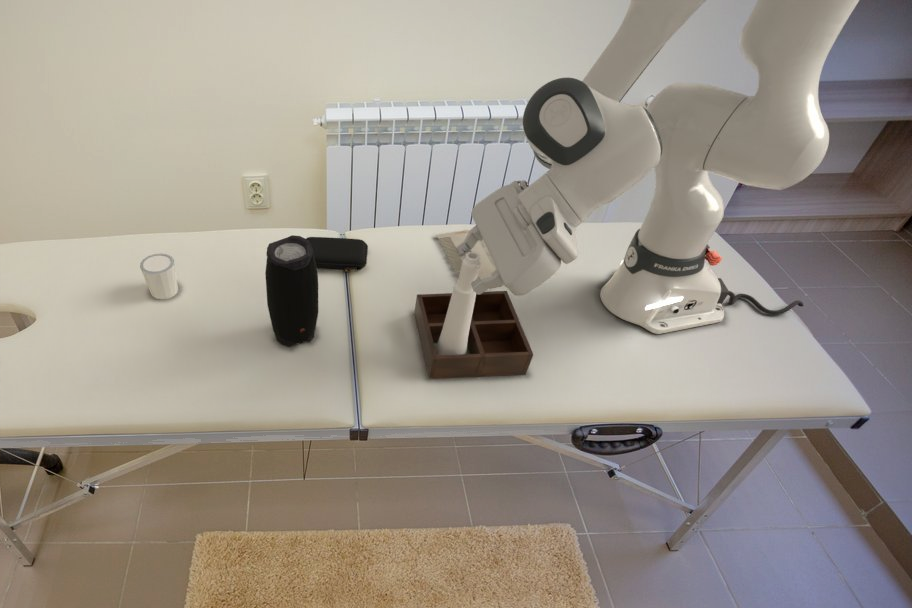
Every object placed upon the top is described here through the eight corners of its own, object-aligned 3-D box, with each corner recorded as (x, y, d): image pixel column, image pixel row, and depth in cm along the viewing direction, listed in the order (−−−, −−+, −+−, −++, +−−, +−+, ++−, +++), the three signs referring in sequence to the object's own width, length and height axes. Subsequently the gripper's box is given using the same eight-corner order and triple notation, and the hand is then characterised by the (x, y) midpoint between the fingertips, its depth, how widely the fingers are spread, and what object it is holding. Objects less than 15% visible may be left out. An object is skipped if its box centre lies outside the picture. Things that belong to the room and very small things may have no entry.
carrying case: (296, 273, 122) (365, 277, 121) (296, 262, 120) (366, 265, 118) (302, 245, 129) (367, 248, 128) (302, 233, 127) (368, 236, 125)
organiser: (500, 310, 113) (506, 290, 109) (525, 374, 102) (533, 354, 98) (413, 314, 113) (416, 294, 109) (429, 379, 102) (433, 359, 98)
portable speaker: (318, 349, 107) (317, 263, 92) (269, 349, 107) (259, 263, 92) (318, 318, 112) (317, 233, 98) (271, 319, 113) (263, 233, 98)
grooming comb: (435, 235, 130) (435, 233, 129) (478, 231, 131) (478, 228, 130) (461, 286, 118) (462, 283, 118) (508, 281, 119) (508, 278, 118)
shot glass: (159, 305, 116) (151, 278, 111) (141, 290, 119) (133, 262, 114) (187, 291, 119) (180, 263, 114) (169, 276, 122) (162, 248, 117)
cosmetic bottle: (445, 340, 107) (467, 239, 90) (472, 356, 104) (500, 254, 87) (426, 357, 104) (445, 256, 87) (453, 373, 101) (479, 272, 84)
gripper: (512, 162, 87) (439, 222, 94) (560, 239, 74) (471, 302, 81) (532, 187, 91) (461, 244, 98) (582, 265, 77) (495, 323, 85)
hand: (466, 271), depth 89 cm, fingers open, 8 cm apart
